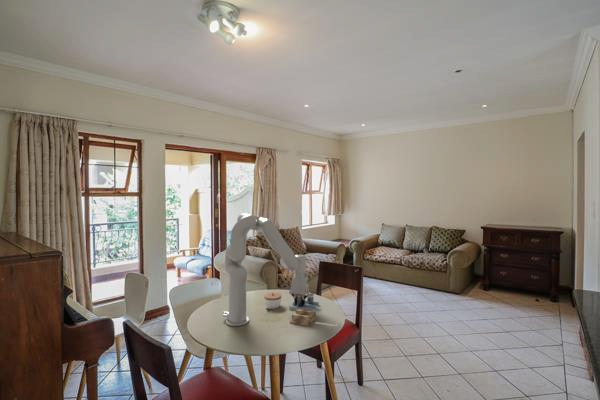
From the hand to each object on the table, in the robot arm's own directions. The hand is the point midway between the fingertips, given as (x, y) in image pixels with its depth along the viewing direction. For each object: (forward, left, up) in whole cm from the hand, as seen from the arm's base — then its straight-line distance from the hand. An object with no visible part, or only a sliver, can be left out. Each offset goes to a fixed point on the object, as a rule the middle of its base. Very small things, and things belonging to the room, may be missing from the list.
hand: (299, 304), depth 180 cm
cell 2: (+5, +6, -2) cm, 8 cm away
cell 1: (0, 0, -1) cm, 1 cm away
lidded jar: (-17, -2, -3) cm, 17 cm away
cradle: (+7, -14, -3) cm, 16 cm away
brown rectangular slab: (+7, -14, -2) cm, 16 cm away
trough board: (+2, +3, -3) cm, 5 cm away
